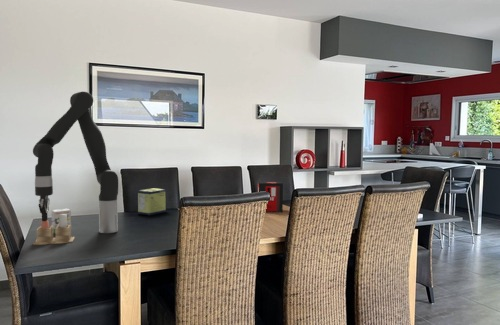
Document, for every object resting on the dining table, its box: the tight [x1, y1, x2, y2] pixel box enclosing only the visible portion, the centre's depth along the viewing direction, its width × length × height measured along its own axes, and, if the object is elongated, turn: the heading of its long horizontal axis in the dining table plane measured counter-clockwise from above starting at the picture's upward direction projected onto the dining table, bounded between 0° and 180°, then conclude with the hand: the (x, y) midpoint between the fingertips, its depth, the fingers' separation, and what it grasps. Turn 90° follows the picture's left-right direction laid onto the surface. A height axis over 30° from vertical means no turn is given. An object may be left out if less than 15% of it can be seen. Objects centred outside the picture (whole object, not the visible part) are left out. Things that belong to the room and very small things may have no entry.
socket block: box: [32, 224, 76, 246], centre depth 190 cm, size 17×9×7 cm, turn 107°
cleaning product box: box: [257, 181, 284, 213], centre depth 272 cm, size 16×9×20 cm, turn 94°
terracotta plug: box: [40, 219, 50, 229], centre depth 189 cm, size 3×3×8 cm
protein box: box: [137, 187, 167, 216], centre depth 262 cm, size 10×16×16 cm
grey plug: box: [59, 214, 67, 228], centre depth 191 cm, size 3×3×8 cm
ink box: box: [51, 208, 72, 234], centre depth 209 cm, size 8×5×12 cm, turn 131°
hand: (44, 220), depth 189 cm, fingers closed
